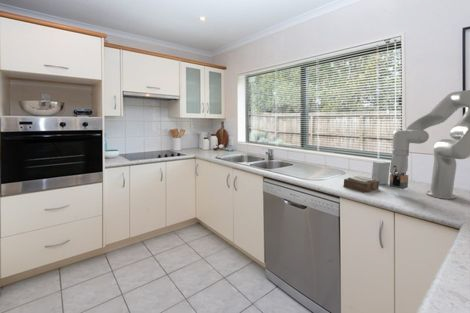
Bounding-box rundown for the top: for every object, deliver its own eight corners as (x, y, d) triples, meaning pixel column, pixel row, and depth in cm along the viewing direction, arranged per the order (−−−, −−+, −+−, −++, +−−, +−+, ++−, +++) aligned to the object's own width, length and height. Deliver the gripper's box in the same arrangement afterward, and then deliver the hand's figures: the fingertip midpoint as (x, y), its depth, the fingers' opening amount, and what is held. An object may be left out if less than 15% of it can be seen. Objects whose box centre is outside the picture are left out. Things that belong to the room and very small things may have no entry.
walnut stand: (356, 183, 162) (357, 175, 161) (378, 189, 150) (379, 179, 149) (343, 186, 154) (344, 177, 154) (365, 192, 143) (365, 182, 142)
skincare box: (381, 182, 167) (383, 160, 164) (388, 184, 161) (390, 162, 159) (370, 182, 165) (372, 161, 163) (377, 185, 159) (379, 162, 157)
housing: (394, 184, 142) (394, 173, 141) (407, 187, 136) (408, 175, 135) (389, 186, 140) (390, 174, 139) (403, 189, 134) (403, 176, 133)
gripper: (400, 150, 143) (399, 181, 146) (384, 153, 134) (383, 186, 137) (415, 151, 136) (413, 183, 139) (399, 155, 128) (398, 189, 130)
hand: (398, 184), depth 138 cm, fingers closed on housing, 5 cm apart
